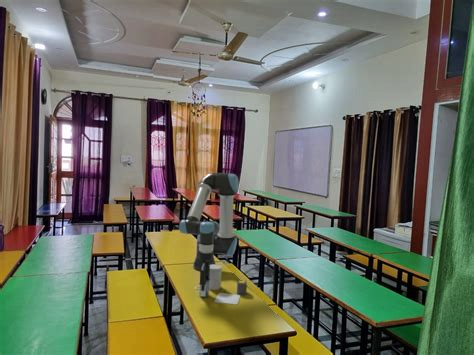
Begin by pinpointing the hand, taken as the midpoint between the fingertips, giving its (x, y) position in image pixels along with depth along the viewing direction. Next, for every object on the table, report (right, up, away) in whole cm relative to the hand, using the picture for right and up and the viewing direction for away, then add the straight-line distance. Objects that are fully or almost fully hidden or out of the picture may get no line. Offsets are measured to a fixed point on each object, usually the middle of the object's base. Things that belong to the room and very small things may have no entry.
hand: (204, 293), depth 181 cm
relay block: (+20, -2, +7) cm, 21 cm away
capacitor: (0, -1, 0) cm, 1 cm away
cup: (+4, -1, +13) cm, 14 cm away
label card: (-4, 0, +10) cm, 11 cm away
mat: (+13, -2, -2) cm, 13 cm away
